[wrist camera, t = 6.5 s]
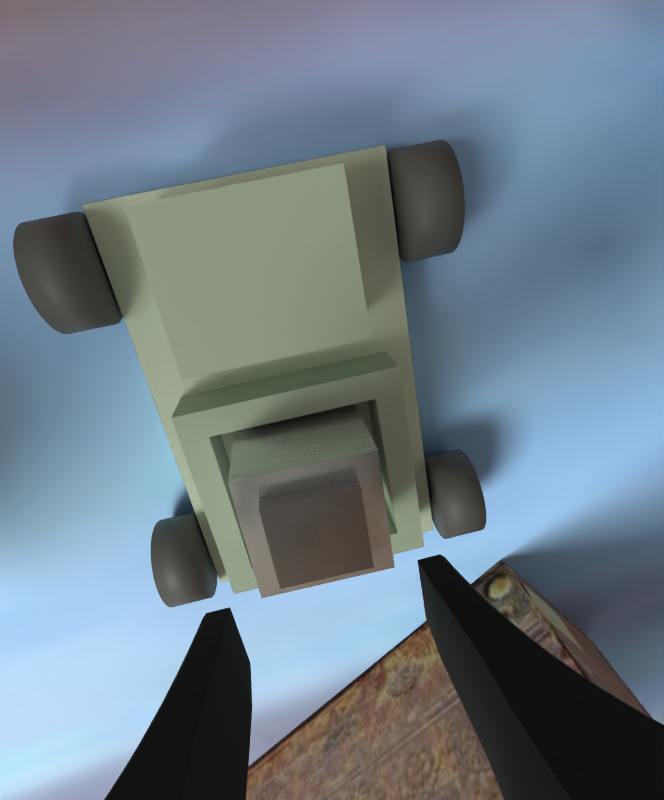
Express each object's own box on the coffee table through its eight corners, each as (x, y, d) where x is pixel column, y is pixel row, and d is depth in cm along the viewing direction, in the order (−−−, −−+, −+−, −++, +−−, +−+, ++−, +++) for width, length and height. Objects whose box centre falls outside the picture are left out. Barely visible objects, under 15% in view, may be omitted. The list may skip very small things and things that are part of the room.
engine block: (262, 509, 20) (261, 612, 15) (236, 414, 18) (226, 493, 13) (364, 487, 20) (399, 580, 15) (349, 391, 18) (382, 460, 13)
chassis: (188, 568, 22) (171, 649, 18) (48, 215, 16) (-28, 214, 12) (455, 502, 23) (498, 565, 19) (420, 142, 17) (471, 116, 13)
